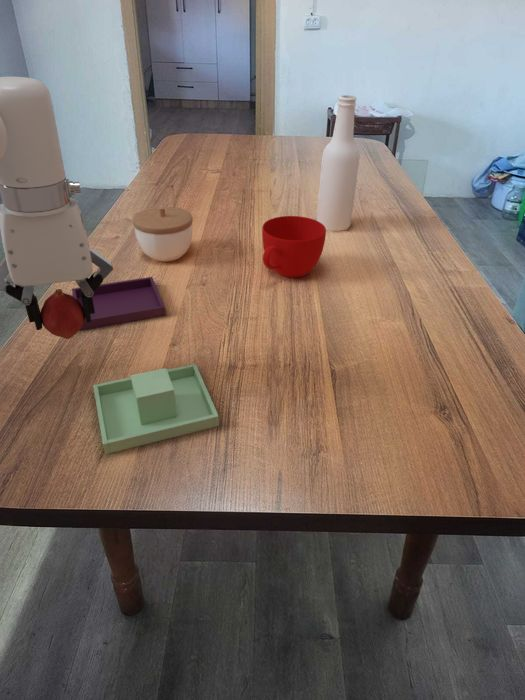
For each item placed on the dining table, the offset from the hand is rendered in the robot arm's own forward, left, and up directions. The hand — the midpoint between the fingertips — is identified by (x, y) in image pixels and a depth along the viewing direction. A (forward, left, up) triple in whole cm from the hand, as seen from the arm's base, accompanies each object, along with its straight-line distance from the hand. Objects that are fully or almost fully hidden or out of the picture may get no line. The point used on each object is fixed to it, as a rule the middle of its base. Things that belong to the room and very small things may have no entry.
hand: (63, 320), depth 70 cm
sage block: (+10, -12, -10) cm, 18 cm away
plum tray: (+9, +18, -10) cm, 23 cm away
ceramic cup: (+44, +20, -11) cm, 49 cm away
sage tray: (+10, -12, -10) cm, 18 cm away
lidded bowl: (+22, +37, -11) cm, 44 cm away
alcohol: (+66, +41, -11) cm, 78 cm away
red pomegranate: (0, 0, -3) cm, 3 cm away
